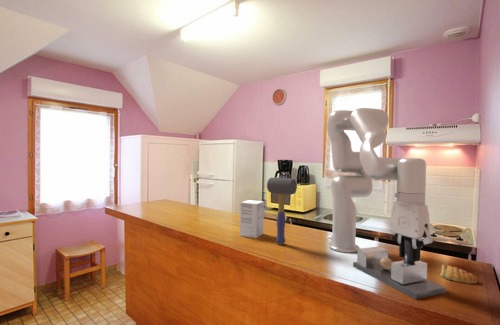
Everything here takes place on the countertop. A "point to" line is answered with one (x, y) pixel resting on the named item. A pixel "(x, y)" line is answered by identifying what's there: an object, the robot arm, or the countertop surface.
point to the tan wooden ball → (386, 263)
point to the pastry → (457, 275)
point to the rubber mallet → (281, 201)
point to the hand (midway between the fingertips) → (409, 258)
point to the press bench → (371, 265)
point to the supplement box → (251, 218)
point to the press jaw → (408, 267)
